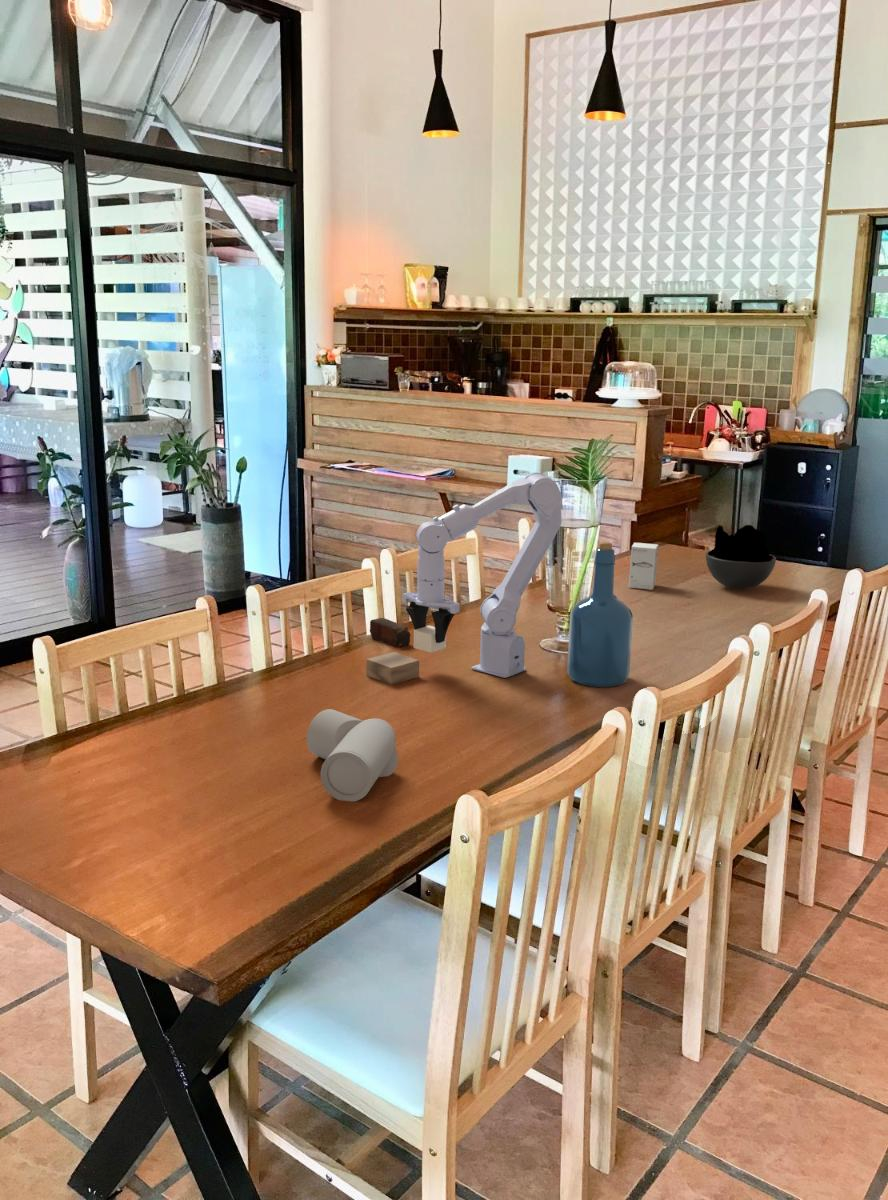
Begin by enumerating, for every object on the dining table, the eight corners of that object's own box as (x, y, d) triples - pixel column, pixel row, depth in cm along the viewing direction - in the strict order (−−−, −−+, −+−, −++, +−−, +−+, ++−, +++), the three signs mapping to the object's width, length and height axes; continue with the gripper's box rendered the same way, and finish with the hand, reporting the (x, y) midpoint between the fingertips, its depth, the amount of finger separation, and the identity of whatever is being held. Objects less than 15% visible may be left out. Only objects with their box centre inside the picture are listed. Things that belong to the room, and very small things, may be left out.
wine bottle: (627, 691, 216) (637, 550, 208) (564, 686, 218) (571, 546, 211) (629, 671, 229) (638, 538, 221) (569, 666, 231) (576, 534, 224)
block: (446, 647, 225) (446, 630, 224) (431, 652, 222) (431, 634, 221) (428, 642, 228) (428, 625, 227) (413, 647, 225) (413, 630, 224)
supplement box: (627, 588, 305) (630, 546, 302) (631, 582, 312) (633, 541, 309) (653, 590, 303) (656, 548, 300) (655, 585, 310) (658, 543, 307)
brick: (369, 638, 250) (369, 619, 249) (381, 635, 253) (382, 616, 252) (397, 648, 243) (398, 629, 242) (410, 645, 246) (410, 626, 244)
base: (418, 678, 223) (419, 660, 222) (391, 686, 217) (391, 667, 216) (394, 669, 228) (394, 651, 227) (366, 676, 223) (366, 659, 222)
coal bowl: (780, 587, 311) (786, 525, 306) (762, 600, 294) (768, 535, 290) (715, 577, 321) (720, 518, 316) (693, 590, 304) (699, 527, 300)
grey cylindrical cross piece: (434, 770, 172) (351, 738, 185) (425, 715, 168) (341, 686, 181) (358, 825, 161) (276, 787, 173) (347, 768, 156) (263, 733, 169)
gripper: (393, 576, 223) (393, 636, 226) (444, 587, 214) (444, 650, 217) (414, 571, 228) (414, 630, 231) (466, 581, 219) (465, 642, 222)
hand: (430, 639), depth 225 cm, fingers closed on block, 5 cm apart
